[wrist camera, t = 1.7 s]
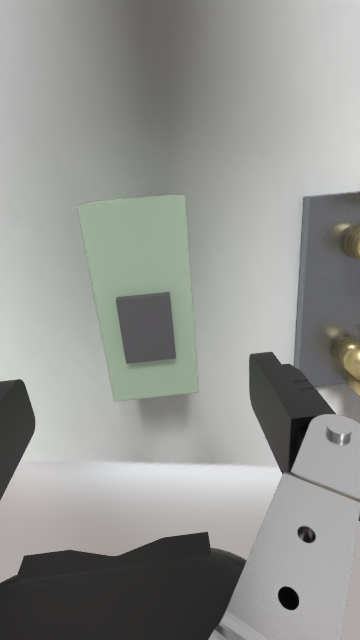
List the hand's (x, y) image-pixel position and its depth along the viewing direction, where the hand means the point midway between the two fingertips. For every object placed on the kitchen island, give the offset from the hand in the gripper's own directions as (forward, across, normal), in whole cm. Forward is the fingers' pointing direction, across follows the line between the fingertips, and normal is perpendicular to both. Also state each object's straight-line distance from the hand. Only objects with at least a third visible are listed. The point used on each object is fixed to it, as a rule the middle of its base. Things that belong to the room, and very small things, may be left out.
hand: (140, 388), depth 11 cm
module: (+15, 0, 0) cm, 15 cm away
